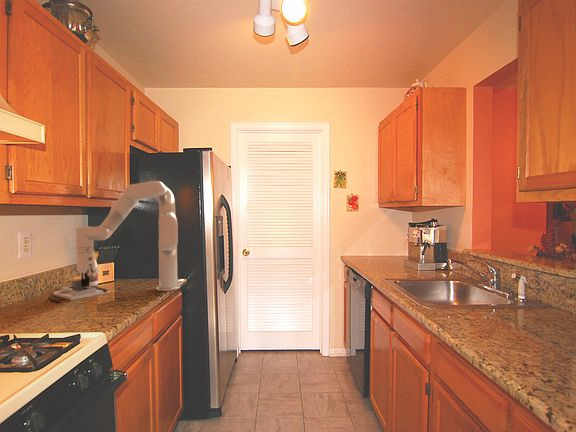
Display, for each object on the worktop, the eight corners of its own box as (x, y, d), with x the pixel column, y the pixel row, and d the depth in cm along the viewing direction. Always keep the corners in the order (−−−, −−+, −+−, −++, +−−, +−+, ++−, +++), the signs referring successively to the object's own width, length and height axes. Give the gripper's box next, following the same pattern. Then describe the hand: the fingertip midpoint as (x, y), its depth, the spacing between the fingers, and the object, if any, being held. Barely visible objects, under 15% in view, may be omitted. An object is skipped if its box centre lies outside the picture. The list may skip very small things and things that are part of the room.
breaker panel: (85, 288, 176) (84, 282, 176) (103, 293, 165) (102, 287, 165) (53, 294, 164) (53, 288, 164) (70, 300, 153) (70, 293, 153)
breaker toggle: (80, 289, 167) (80, 276, 167) (84, 290, 165) (84, 277, 165) (72, 291, 164) (72, 278, 164) (75, 292, 162) (75, 278, 162)
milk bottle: (80, 286, 183) (79, 252, 183) (94, 283, 190) (93, 250, 190) (86, 287, 179) (85, 253, 179) (100, 285, 185) (99, 251, 185)
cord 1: (48, 299, 155) (48, 297, 155) (51, 298, 156) (51, 296, 156) (59, 303, 148) (59, 300, 148) (62, 302, 149) (62, 300, 149)
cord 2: (91, 289, 176) (91, 287, 176) (96, 288, 178) (96, 286, 178) (102, 292, 169) (102, 290, 169) (107, 291, 171) (107, 289, 171)
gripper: (100, 250, 159) (100, 286, 159) (86, 248, 167) (86, 283, 167) (83, 252, 153) (84, 289, 153) (70, 250, 161) (70, 285, 161)
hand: (85, 286), depth 160 cm, fingers closed
